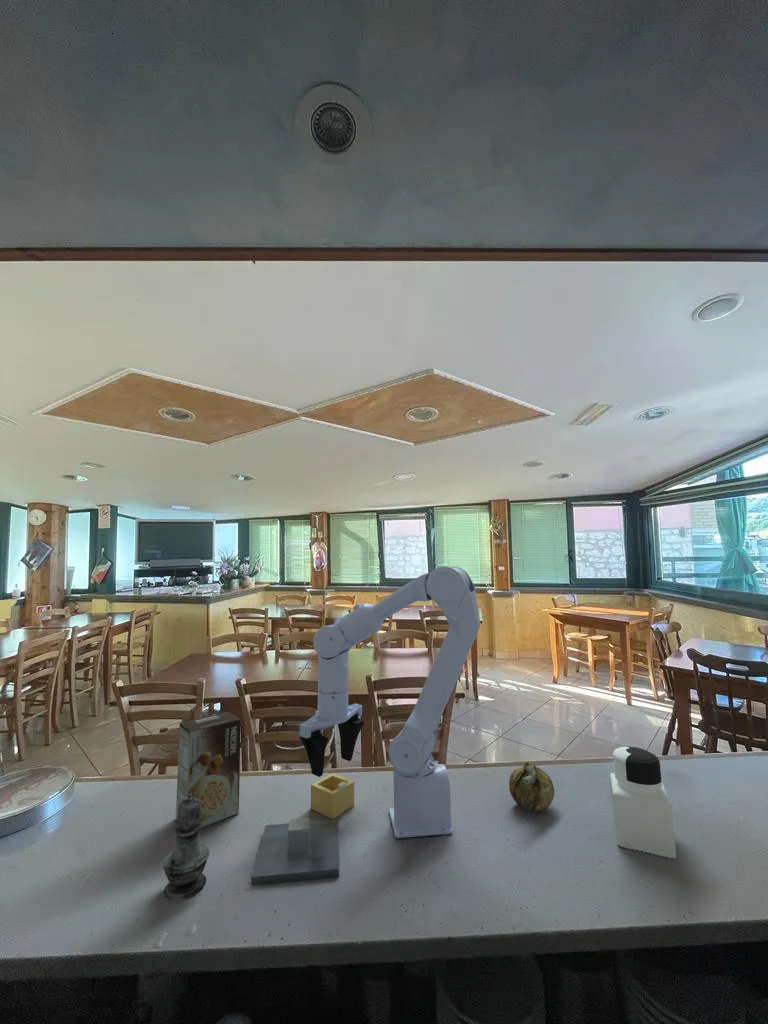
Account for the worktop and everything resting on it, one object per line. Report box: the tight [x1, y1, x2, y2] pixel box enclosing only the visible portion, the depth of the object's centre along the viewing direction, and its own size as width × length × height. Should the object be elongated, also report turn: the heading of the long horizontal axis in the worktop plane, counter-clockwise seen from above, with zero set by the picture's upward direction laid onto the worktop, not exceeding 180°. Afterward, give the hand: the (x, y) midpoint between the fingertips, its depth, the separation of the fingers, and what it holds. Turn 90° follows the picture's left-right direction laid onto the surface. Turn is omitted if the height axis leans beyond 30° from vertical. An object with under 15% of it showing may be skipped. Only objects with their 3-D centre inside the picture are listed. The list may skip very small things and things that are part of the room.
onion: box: [508, 761, 555, 813], centre depth 77 cm, size 8×8×8 cm
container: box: [609, 746, 677, 860], centre depth 68 cm, size 8×8×13 cm
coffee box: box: [175, 711, 242, 829], centre depth 75 cm, size 9×6×16 cm
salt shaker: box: [162, 792, 211, 902], centre depth 59 cm, size 6×6×12 cm
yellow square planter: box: [310, 772, 355, 820], centre depth 77 cm, size 6×6×5 cm
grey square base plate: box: [250, 817, 340, 886], centre depth 65 cm, size 12×12×4 cm
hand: (332, 766), depth 78 cm, fingers open, 7 cm apart
